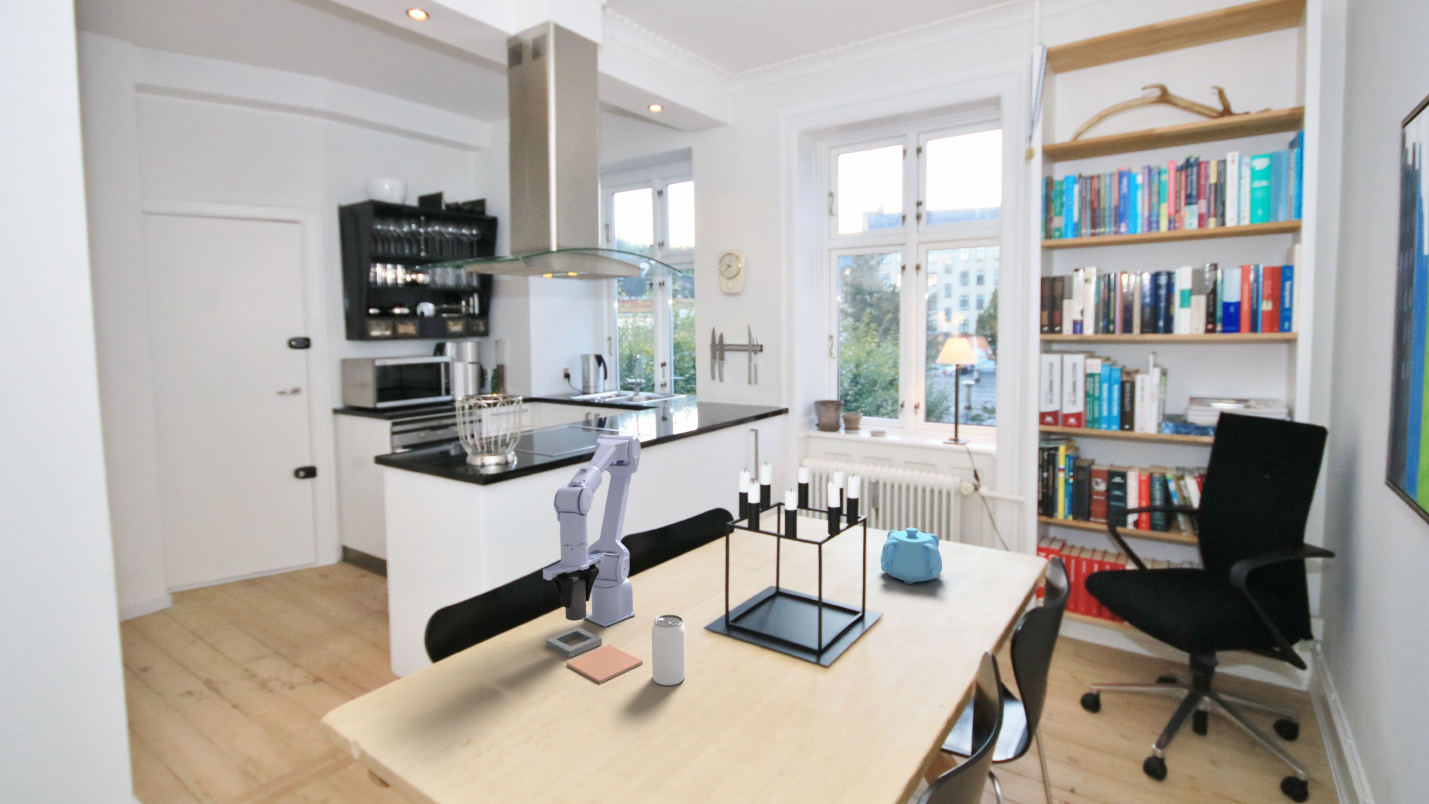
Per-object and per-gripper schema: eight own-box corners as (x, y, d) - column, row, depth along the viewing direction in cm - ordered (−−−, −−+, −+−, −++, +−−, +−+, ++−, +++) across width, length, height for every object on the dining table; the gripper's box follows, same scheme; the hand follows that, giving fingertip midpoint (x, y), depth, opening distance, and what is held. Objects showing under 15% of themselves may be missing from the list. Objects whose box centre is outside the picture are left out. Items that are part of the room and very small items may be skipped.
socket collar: (578, 632, 161) (578, 626, 161) (601, 644, 156) (601, 637, 155) (546, 645, 155) (545, 638, 155) (569, 658, 149) (569, 651, 149)
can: (670, 667, 145) (669, 610, 144) (692, 678, 141) (691, 620, 139) (646, 678, 141) (645, 620, 139) (667, 690, 136) (666, 630, 135)
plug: (578, 610, 157) (577, 575, 156) (590, 615, 154) (589, 580, 153) (561, 616, 153) (560, 580, 153) (573, 622, 150) (572, 585, 150)
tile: (609, 647, 154) (608, 644, 154) (642, 663, 147) (642, 660, 147) (566, 665, 146) (566, 662, 146) (600, 683, 139) (599, 680, 139)
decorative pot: (873, 581, 193) (874, 532, 191) (887, 563, 207) (888, 517, 205) (935, 591, 185) (937, 540, 184) (945, 571, 200) (947, 524, 198)
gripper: (555, 553, 144) (557, 618, 145) (612, 538, 154) (613, 598, 156) (536, 546, 149) (538, 609, 150) (592, 531, 159) (594, 590, 161)
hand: (575, 603), depth 153 cm, fingers closed on plug, 4 cm apart
